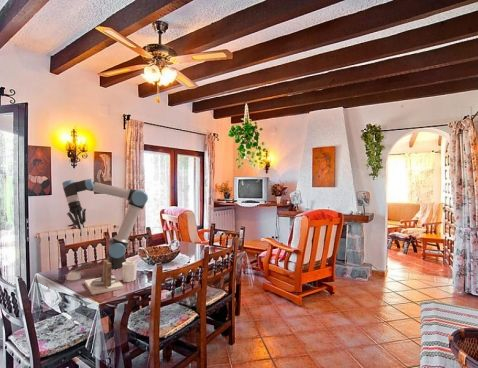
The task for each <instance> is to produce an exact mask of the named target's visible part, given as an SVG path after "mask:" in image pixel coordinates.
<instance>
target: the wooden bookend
mask: <svg viewBox="0 0 478 368" xmlns="http://www.w3.org/2000/svg"><path fill="white" fill-rule="evenodd" d="M111 276H112V268H111V263H110V262H109V261H108V259H102V275H101V276H100V277H98V278H99V279H96V278H94V279H95V280H93V281H92V285H94V286H107V287H110V286H111V284H113V283H115V278H116V277H115V278H111Z"/></svg>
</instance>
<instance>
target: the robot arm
mask: <svg viewBox="0 0 478 368" xmlns="http://www.w3.org/2000/svg"><path fill="white" fill-rule="evenodd" d="M61 184H62V188H63V192H64V196H65V199H66V203H67V205H68V208H69V210H68V212H66V215H67V216H68V217H69V220H71V222H72V224H73V225H74V226H76V227H77V229H78V230H79V232H80V234H85V229H84V228H85V225H84V224H85V223H86V221H87V220H86V219H87V218H86V210H87V208H83V207H82V206H81V205H82V204H81V201H80V198H79V194H78V193H79V192H84V191H85V192H86V191H89V192H94V193H99V194H103V195H108V196H112V197H116V198H120V199H125V200H126V201H128V208H127V211H126V213H125V215H124V218H123V220H122V222H121V225H120V227H119V229H118V231H117V234H116V235H115V236H114V237H110V238H109V239H108V249H107V250H108V251H107V253H108V257H107V261H109V262H110V263H111V269H122V268H121V267H122V263H123V262H127V259H126V256H125V253H126V249H127V247H128V244H129V238H130V235H131V232H132V231H133V228H134V226H135V223H136V221H137V218H138V217H139V214H140V212H141V211H142V210H143V209H144V207H145V205H146V204H147V202H148V199H149V196H148V194H147V192H145V191H144V190H142V189H132V188H129V189H126V188H123V187H118V186H114V185H109V184H105V183H100V182H97V181H93V179H92V178H87V179H86V178H85V179H84V180H83V179H82V180H79V181H74V180H73V179H69V180H66V181H63V182H62V183H61Z"/></svg>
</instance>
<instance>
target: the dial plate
mask: <svg viewBox="0 0 478 368" xmlns="http://www.w3.org/2000/svg"><path fill="white" fill-rule="evenodd" d="M99 278H100V277H97V278H92V279H85V280H84V284H85V286H86V288H87V289H88V291H89V292H90V293H91V295H98V294H104V293H108V292H109V293H110V292H113V291H119V290H123V289H124V284H123V283H122V282H121V281H120V280H119V279H118V278H117V277H115V275H111V278H115V283H113V284H111V286H110V287H107V286H94V285H92V281H93V280H95V279H99Z"/></svg>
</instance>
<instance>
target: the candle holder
mask: <svg viewBox="0 0 478 368" xmlns="http://www.w3.org/2000/svg"><path fill="white" fill-rule="evenodd" d="M137 266H138V261H134V260H129V261H127V260H126V262H123V263H122V268H121V269H122V270H121V271H122V281H123V282H124V283H132V282H131V281H133V282H134V280H135V281H136V279H137V272H138V271H137V269H138V268H137Z"/></svg>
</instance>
